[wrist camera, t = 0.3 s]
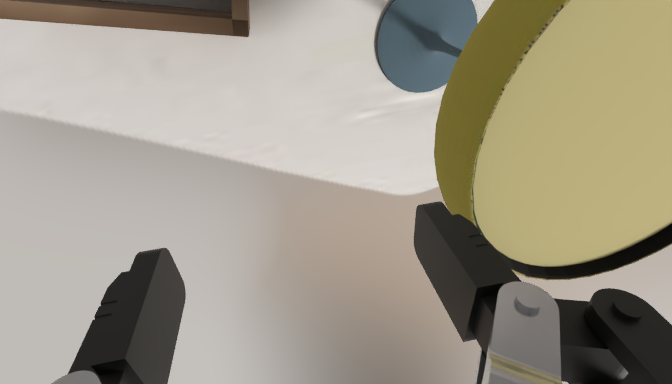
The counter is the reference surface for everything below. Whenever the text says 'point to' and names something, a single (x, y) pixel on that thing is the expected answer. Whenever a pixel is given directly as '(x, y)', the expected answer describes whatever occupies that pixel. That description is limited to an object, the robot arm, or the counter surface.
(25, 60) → the counter surface
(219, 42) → the counter surface
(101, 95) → the counter surface
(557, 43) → the cocktail glass
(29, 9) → the open-front crate
